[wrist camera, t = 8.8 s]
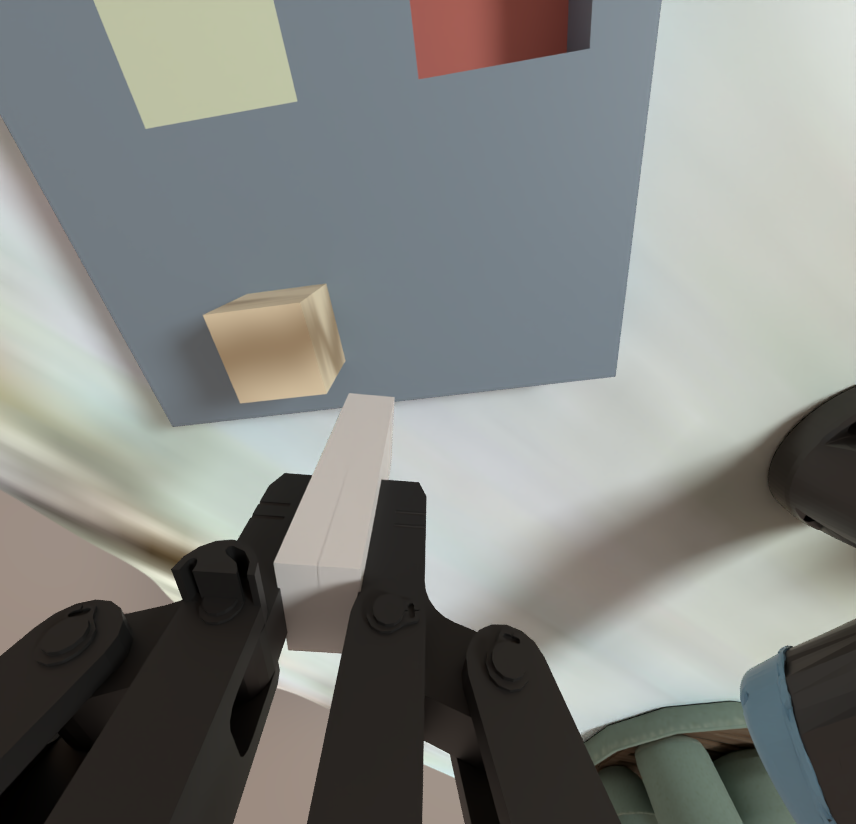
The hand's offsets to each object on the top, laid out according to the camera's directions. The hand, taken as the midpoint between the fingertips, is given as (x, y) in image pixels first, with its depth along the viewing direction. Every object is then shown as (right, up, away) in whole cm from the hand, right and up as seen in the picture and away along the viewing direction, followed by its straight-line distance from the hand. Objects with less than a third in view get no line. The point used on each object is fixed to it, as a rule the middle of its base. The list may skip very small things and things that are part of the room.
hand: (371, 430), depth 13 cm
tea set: (+47, -59, +52) cm, 91 cm away
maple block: (-6, +6, +11) cm, 14 cm away
